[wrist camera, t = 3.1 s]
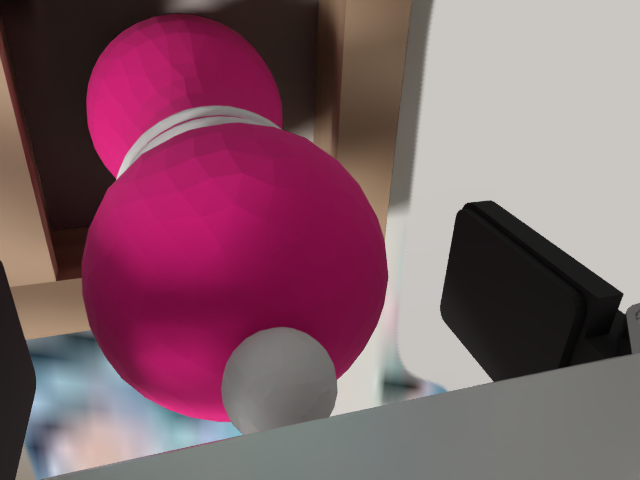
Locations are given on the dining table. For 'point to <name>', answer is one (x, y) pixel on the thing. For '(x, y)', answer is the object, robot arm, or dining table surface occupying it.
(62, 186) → the dining table surface
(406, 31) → the box
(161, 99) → the pepper mill
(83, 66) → the dining table surface
